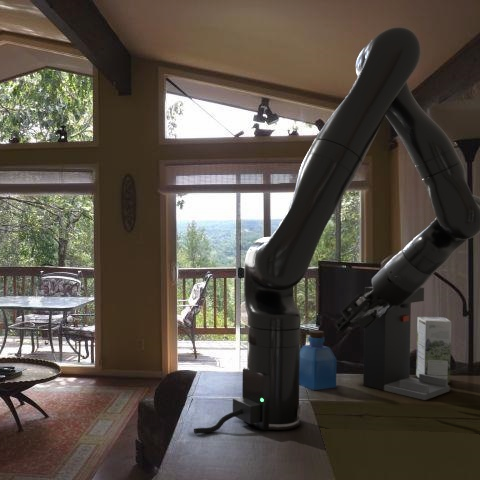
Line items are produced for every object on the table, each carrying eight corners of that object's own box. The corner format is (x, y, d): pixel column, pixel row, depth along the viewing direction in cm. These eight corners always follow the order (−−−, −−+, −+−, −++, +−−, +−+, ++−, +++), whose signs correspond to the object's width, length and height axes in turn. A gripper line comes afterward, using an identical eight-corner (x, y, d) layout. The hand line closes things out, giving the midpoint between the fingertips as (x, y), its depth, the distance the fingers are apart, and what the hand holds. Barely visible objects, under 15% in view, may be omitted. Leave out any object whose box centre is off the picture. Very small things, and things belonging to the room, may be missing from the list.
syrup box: (440, 377, 137) (441, 316, 136) (450, 383, 131) (451, 320, 130) (415, 376, 137) (416, 315, 137) (424, 382, 131) (425, 319, 131)
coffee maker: (425, 400, 117) (426, 293, 117) (363, 385, 128) (364, 287, 128) (449, 391, 124) (451, 290, 124) (389, 378, 135) (390, 284, 135)
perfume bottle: (295, 383, 130) (296, 330, 130) (317, 380, 132) (318, 328, 132) (313, 390, 124) (314, 334, 124) (336, 387, 127) (337, 332, 127)
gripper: (407, 261, 119) (357, 310, 128) (369, 263, 110) (318, 316, 119) (432, 289, 115) (378, 337, 124) (395, 293, 106) (340, 345, 115)
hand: (349, 327), depth 122 cm, fingers open, 8 cm apart
